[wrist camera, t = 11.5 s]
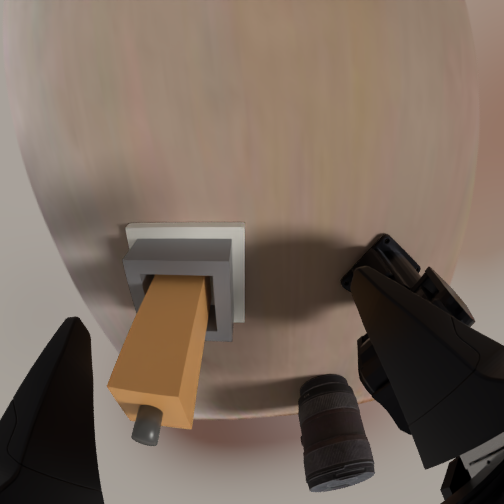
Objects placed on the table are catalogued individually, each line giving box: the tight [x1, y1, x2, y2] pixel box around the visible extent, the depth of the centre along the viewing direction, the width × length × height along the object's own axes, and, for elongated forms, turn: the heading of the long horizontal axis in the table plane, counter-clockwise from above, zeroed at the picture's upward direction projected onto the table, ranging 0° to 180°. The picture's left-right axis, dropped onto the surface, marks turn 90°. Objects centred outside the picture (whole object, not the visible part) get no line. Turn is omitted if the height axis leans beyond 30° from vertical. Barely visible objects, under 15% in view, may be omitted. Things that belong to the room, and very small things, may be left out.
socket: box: [122, 222, 245, 342], centre depth 23 cm, size 10×10×4 cm
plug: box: [107, 274, 212, 446], centre depth 18 cm, size 4×4×15 cm
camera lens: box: [298, 375, 375, 492], centre depth 28 cm, size 8×8×15 cm
